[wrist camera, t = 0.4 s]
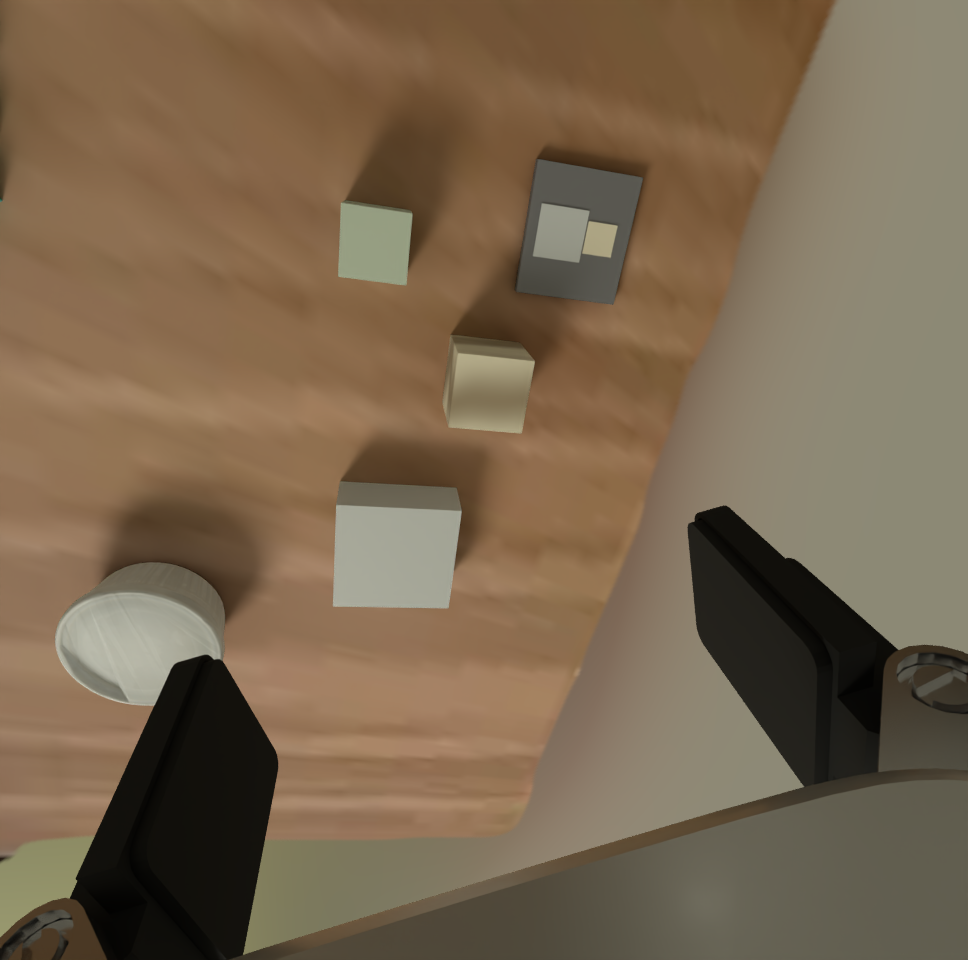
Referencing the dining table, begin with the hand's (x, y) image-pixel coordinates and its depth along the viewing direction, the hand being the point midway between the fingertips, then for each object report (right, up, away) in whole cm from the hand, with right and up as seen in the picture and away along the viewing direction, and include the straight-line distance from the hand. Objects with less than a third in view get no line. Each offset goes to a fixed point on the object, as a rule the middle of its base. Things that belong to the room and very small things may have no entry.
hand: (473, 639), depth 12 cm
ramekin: (-26, -7, +37) cm, 46 cm away
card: (+6, +19, +28) cm, 35 cm away
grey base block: (-7, -1, +37) cm, 38 cm away
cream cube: (0, +11, +32) cm, 33 cm away
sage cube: (-7, +19, +27) cm, 33 cm away
